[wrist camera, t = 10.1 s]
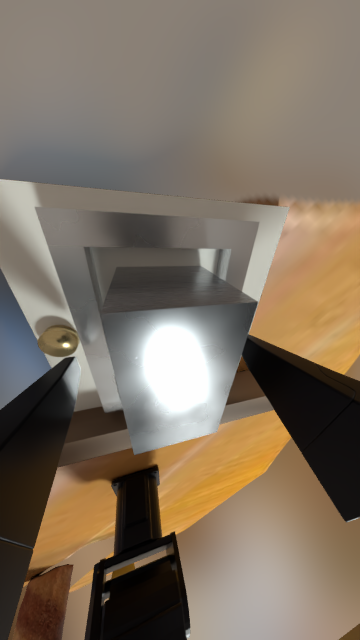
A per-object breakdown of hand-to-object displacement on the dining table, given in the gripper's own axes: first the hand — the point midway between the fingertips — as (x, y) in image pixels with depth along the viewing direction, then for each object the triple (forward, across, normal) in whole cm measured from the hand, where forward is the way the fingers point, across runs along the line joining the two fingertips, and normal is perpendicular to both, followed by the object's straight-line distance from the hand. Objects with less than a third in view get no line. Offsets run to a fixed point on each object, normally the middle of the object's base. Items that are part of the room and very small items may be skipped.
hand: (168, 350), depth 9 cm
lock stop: (+2, 0, 0) cm, 2 cm away
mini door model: (+3, 0, 0) cm, 3 cm away
